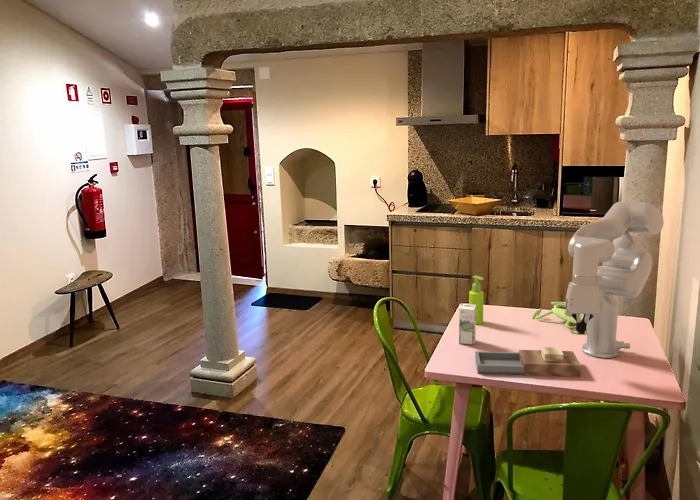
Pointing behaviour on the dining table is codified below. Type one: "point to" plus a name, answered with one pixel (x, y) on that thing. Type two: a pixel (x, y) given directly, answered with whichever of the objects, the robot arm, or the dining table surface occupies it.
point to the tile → (552, 354)
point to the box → (498, 363)
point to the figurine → (559, 315)
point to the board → (549, 364)
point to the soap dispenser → (477, 299)
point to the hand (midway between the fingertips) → (580, 332)
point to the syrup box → (467, 324)
